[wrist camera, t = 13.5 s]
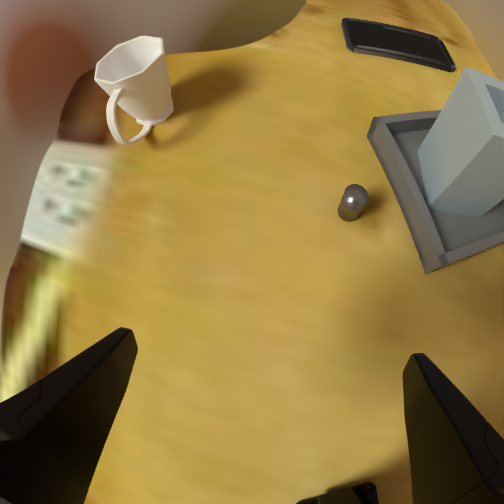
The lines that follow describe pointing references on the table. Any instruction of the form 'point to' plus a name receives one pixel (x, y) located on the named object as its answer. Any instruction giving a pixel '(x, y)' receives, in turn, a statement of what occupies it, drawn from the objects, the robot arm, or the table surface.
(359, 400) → the table surface
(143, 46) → the cup
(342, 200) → the grey metal capsule
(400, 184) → the tray
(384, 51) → the phone
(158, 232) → the table surface
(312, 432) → the table surface
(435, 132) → the sleeve
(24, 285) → the table surface
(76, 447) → the robot arm
